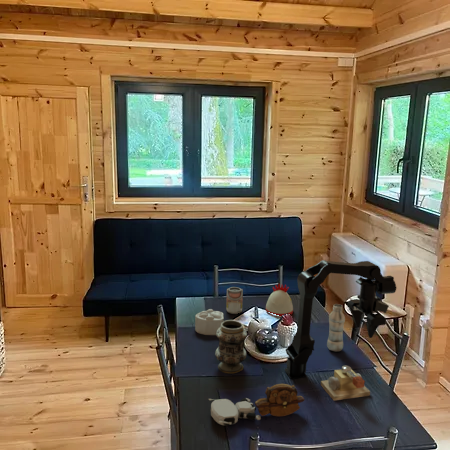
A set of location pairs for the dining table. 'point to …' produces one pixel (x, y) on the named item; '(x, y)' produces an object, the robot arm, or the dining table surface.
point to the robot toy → (232, 411)
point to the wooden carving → (279, 400)
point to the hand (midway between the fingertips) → (364, 332)
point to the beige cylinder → (234, 300)
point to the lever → (353, 377)
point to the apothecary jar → (231, 346)
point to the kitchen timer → (279, 302)
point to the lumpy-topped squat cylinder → (208, 322)
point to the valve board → (344, 393)
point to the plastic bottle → (336, 329)
